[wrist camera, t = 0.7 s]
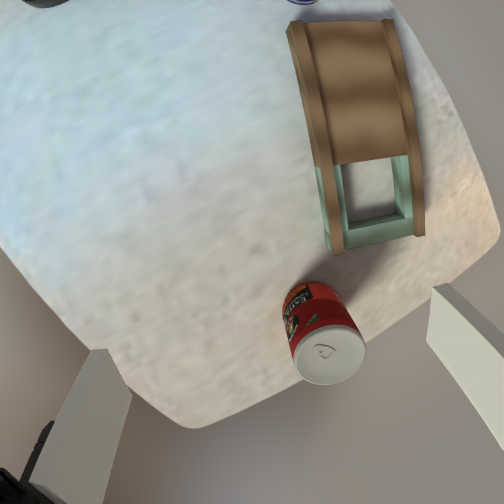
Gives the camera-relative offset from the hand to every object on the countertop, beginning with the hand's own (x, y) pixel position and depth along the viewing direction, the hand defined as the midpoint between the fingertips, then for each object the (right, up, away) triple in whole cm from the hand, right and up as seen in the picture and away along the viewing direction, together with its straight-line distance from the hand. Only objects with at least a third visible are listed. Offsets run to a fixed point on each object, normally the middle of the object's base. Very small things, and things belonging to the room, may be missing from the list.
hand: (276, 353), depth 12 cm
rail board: (+11, +18, +22) cm, 31 cm away
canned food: (+7, -3, +30) cm, 31 cm away
